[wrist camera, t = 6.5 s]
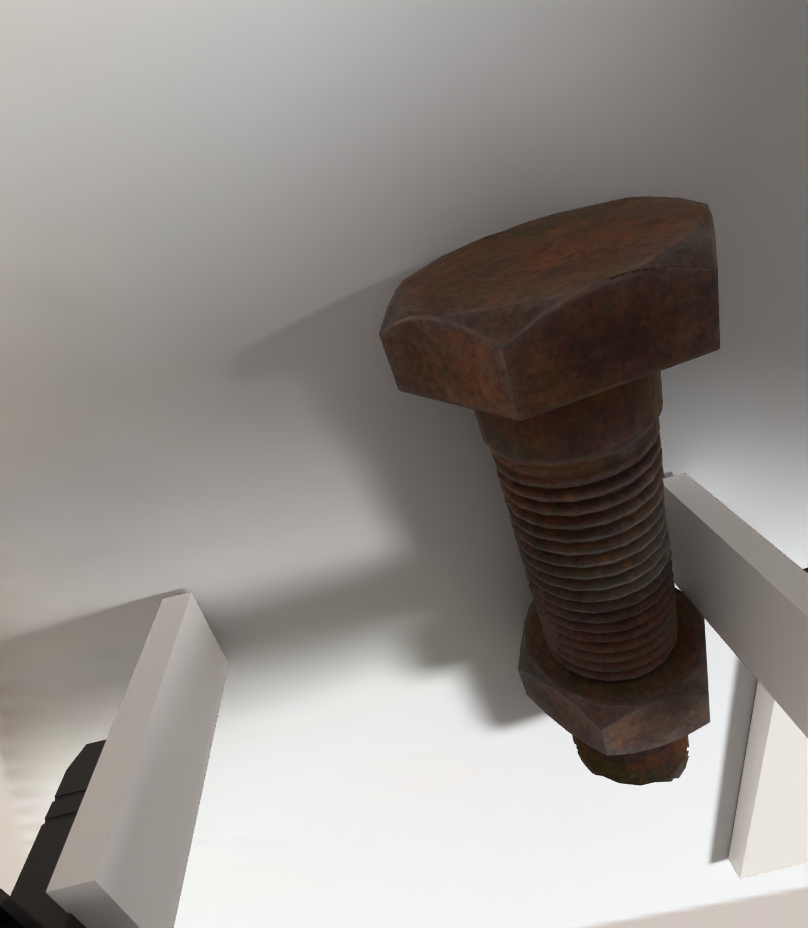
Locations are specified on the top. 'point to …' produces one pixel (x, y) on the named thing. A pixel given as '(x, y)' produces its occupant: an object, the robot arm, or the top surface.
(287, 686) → the top surface
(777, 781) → the mat
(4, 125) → the top surface
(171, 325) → the top surface
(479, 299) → the bolt
